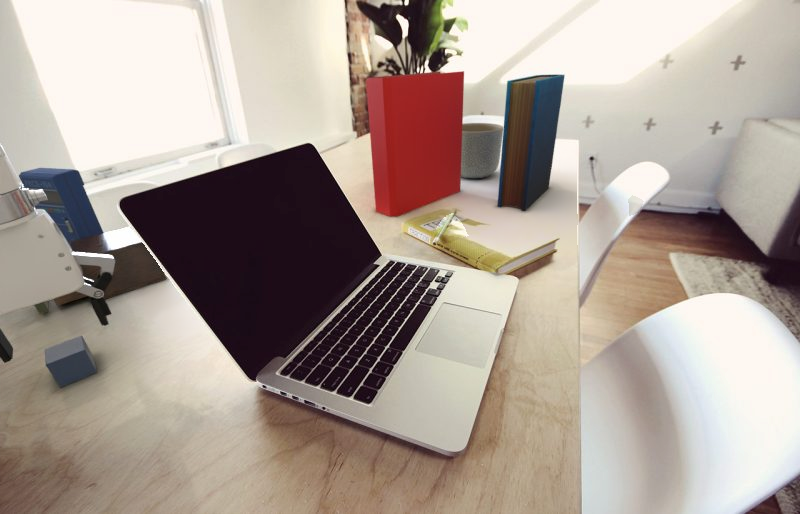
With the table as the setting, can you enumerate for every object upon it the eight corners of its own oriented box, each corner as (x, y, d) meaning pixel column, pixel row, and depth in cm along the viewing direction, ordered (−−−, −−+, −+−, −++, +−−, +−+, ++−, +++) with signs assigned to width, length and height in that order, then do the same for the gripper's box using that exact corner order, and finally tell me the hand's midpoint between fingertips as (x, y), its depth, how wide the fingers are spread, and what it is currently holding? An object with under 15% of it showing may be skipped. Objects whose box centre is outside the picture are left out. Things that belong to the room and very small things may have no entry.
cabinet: (95, 302, 67) (74, 260, 63) (88, 281, 74) (69, 241, 70) (166, 278, 73) (151, 239, 69) (154, 261, 80) (140, 224, 76)
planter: (438, 173, 131) (438, 126, 124) (477, 165, 138) (479, 121, 131) (468, 185, 118) (470, 134, 111) (510, 176, 125) (514, 127, 118)
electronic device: (63, 269, 78) (13, 173, 69) (87, 258, 83) (44, 166, 73) (97, 274, 76) (50, 175, 67) (120, 262, 80) (80, 168, 71)
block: (60, 388, 49) (45, 364, 47) (58, 371, 52) (44, 349, 50) (97, 372, 51) (84, 349, 49) (94, 357, 54) (82, 335, 52)
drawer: (7, 324, 60) (-16, 289, 57) (9, 301, 67) (-11, 267, 64) (114, 290, 69) (99, 257, 65) (107, 272, 75) (93, 241, 72)
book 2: (522, 182, 119) (533, 74, 105) (551, 185, 114) (567, 73, 100) (492, 206, 101) (500, 80, 87) (525, 211, 97) (540, 80, 83)
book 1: (439, 186, 118) (440, 71, 103) (460, 191, 113) (464, 71, 98) (373, 210, 102) (362, 78, 87) (393, 217, 96) (386, 78, 82)
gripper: (81, 185, 48) (132, 299, 56) (-129, 225, 38) (-32, 356, 46) (87, 197, 43) (142, 320, 51) (-154, 247, 33) (-40, 390, 41)
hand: (59, 337), depth 49 cm, fingers open, 9 cm apart
